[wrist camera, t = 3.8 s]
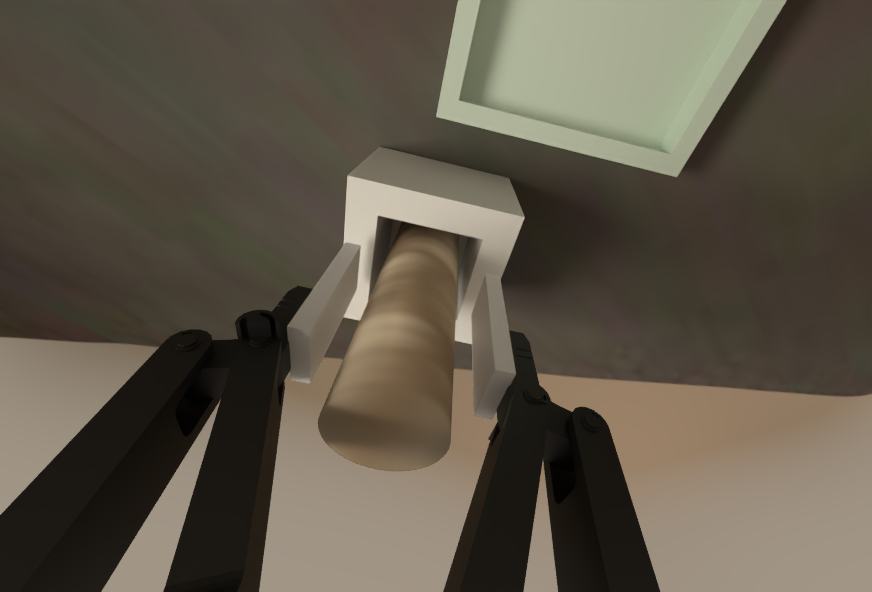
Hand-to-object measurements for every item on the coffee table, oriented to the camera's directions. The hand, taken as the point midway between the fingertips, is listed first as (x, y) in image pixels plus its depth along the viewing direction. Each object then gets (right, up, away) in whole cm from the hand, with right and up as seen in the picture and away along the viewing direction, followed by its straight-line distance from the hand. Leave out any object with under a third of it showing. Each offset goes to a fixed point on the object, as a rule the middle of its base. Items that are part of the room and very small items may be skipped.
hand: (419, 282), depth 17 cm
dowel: (+1, +4, +6) cm, 7 cm away
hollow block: (+1, +5, +7) cm, 8 cm away
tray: (+9, +14, 0) cm, 16 cm away
